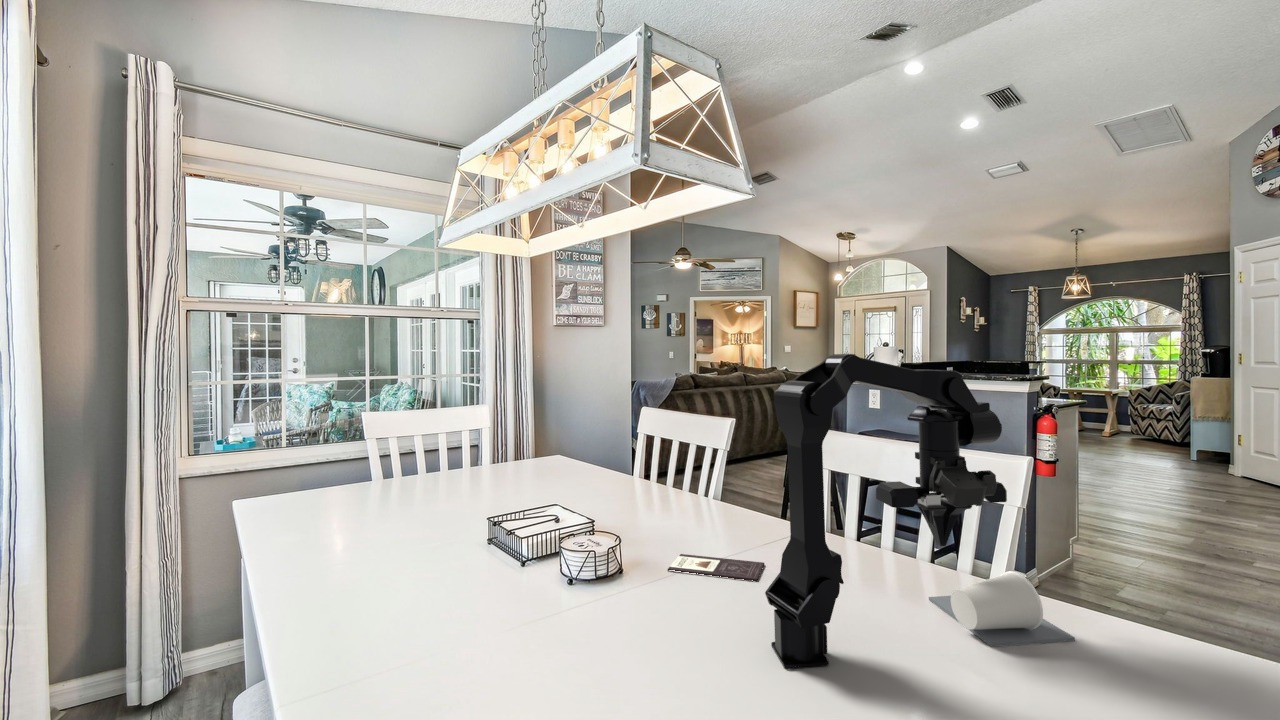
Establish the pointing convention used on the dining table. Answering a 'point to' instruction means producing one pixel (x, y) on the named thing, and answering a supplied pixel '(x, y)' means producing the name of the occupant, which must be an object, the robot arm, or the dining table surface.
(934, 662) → the dining table surface
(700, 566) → the chocolate bar
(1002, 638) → the mat
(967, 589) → the dixie cup
